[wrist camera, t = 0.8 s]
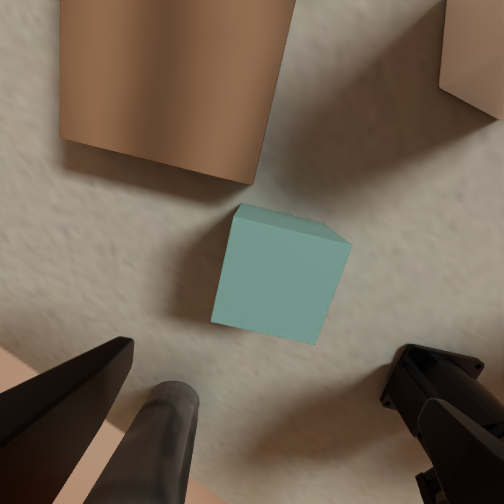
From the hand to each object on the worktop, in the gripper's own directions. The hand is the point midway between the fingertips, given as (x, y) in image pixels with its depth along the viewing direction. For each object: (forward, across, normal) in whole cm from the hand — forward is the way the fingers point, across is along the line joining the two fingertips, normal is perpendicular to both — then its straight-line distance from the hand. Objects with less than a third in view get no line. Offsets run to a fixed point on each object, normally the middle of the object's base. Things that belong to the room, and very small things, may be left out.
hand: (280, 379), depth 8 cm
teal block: (+12, 0, 0) cm, 12 cm away
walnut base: (+12, +8, -11) cm, 18 cm away
